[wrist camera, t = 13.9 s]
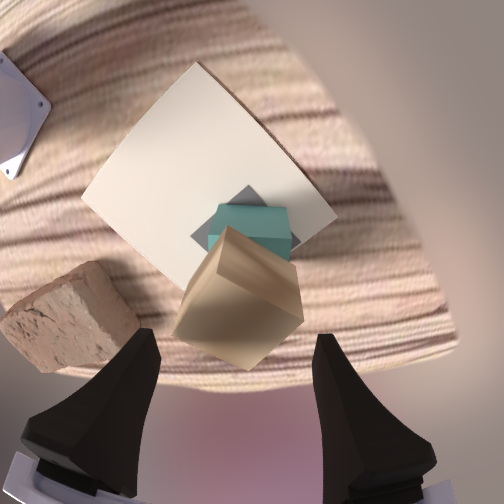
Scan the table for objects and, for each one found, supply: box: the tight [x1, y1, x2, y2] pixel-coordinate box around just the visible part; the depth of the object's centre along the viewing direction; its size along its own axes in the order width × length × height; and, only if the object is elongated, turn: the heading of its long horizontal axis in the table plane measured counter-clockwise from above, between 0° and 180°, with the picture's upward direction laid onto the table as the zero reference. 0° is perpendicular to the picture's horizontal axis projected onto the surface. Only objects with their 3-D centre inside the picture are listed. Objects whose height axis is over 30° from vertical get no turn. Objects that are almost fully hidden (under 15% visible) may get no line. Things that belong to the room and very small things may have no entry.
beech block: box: [171, 225, 304, 371], centre depth 15 cm, size 4×4×4 cm
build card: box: [81, 62, 338, 292], centre depth 20 cm, size 14×13×1 cm
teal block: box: [208, 204, 292, 262], centre depth 19 cm, size 4×4×4 cm
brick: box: [0, 261, 141, 373], centre depth 25 cm, size 17×8×5 cm, turn 114°
